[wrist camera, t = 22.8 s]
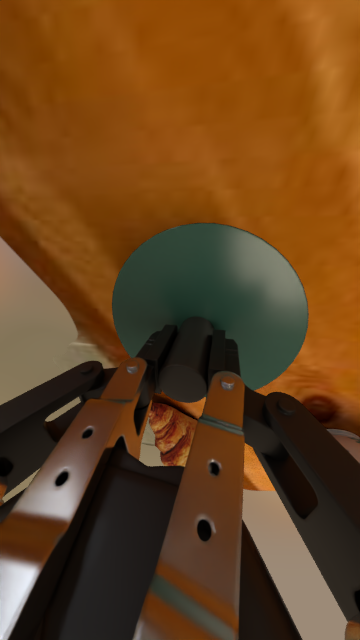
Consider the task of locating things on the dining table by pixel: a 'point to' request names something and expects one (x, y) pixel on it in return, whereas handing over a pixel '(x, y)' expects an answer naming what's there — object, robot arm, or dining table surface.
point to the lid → (211, 304)
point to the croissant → (172, 433)
